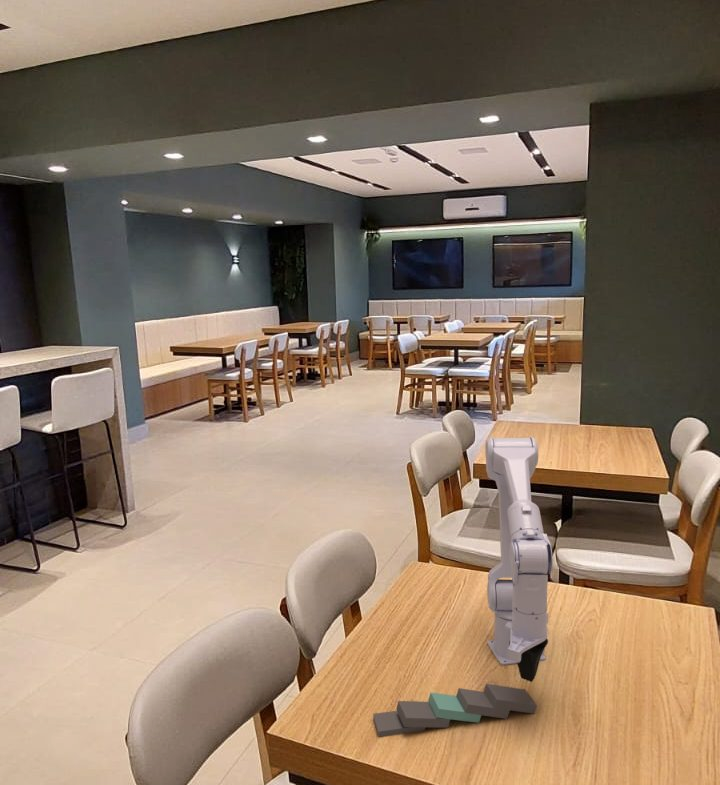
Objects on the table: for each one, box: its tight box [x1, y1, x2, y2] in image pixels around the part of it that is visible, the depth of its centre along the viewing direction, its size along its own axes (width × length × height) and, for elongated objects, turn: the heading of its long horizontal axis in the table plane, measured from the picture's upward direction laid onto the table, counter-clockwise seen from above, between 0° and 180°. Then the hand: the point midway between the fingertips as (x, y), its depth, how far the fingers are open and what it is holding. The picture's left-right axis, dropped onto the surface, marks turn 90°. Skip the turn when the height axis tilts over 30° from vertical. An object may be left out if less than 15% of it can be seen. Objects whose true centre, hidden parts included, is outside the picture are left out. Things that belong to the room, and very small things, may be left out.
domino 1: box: [372, 710, 426, 738], centre depth 105 cm, size 2×4×8 cm
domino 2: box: [395, 700, 451, 729], centre depth 104 cm, size 2×4×8 cm
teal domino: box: [427, 692, 482, 724], centre depth 106 cm, size 2×4×8 cm
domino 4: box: [482, 683, 538, 714], centre depth 107 cm, size 2×4×8 cm
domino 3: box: [455, 687, 511, 719], centre depth 106 cm, size 2×4×8 cm
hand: (527, 678), depth 107 cm, fingers closed
